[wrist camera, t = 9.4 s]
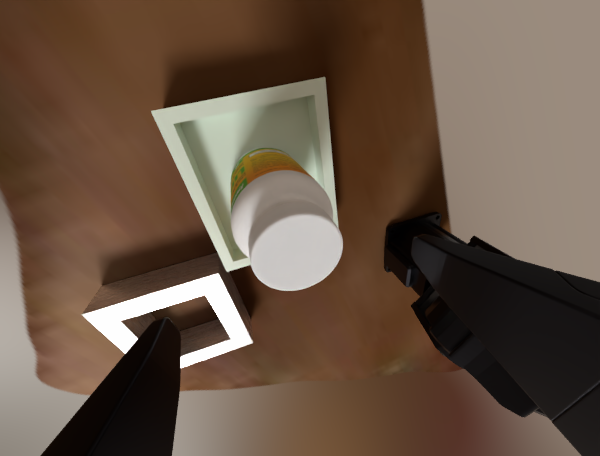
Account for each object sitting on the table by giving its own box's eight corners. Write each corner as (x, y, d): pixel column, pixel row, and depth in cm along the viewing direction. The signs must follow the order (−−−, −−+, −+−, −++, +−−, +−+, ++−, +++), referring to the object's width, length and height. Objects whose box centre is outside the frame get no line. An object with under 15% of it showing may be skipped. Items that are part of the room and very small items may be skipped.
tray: (312, 79, 15) (325, 76, 13) (328, 224, 22) (339, 237, 20) (162, 109, 14) (150, 111, 12) (227, 254, 21) (226, 272, 18)
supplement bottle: (227, 143, 15) (225, 196, 7) (303, 147, 17) (371, 193, 9) (232, 214, 18) (235, 311, 10) (297, 212, 19) (346, 295, 11)
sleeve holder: (219, 251, 20) (218, 273, 18) (250, 318, 26) (253, 342, 23) (101, 285, 19) (81, 314, 16) (160, 349, 24) (152, 378, 22)
